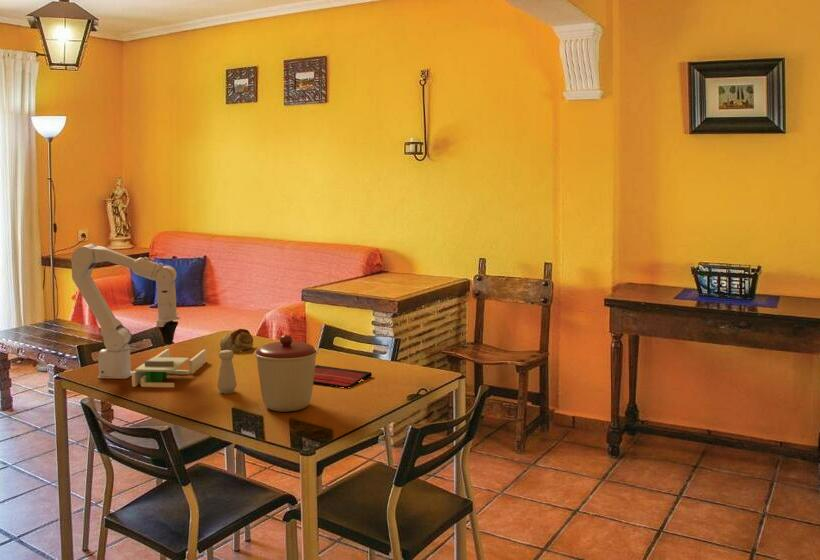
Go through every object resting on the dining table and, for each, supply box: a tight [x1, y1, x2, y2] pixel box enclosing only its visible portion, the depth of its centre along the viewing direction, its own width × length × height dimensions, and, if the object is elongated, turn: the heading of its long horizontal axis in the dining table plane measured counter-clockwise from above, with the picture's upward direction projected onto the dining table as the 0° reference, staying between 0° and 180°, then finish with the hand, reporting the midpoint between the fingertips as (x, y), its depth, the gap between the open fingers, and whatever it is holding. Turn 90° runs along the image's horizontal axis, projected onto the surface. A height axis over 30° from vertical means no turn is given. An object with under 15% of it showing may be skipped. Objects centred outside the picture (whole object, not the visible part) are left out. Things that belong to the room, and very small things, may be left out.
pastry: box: [219, 328, 254, 353], centre depth 295 cm, size 14×12×8 cm
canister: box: [253, 334, 319, 413], centre depth 224 cm, size 18×18×21 cm
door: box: [134, 356, 190, 372], centre depth 251 cm, size 12×16×2 cm
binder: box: [313, 364, 373, 389], centre depth 255 cm, size 16×2×21 cm
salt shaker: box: [216, 349, 237, 395], centre depth 238 cm, size 6×6×13 cm
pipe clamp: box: [146, 371, 168, 383], centre depth 252 cm, size 11×4×5 cm, turn 178°
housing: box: [131, 348, 207, 388], centre depth 259 cm, size 14×32×4 cm, turn 178°
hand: (168, 344), depth 256 cm, fingers closed
